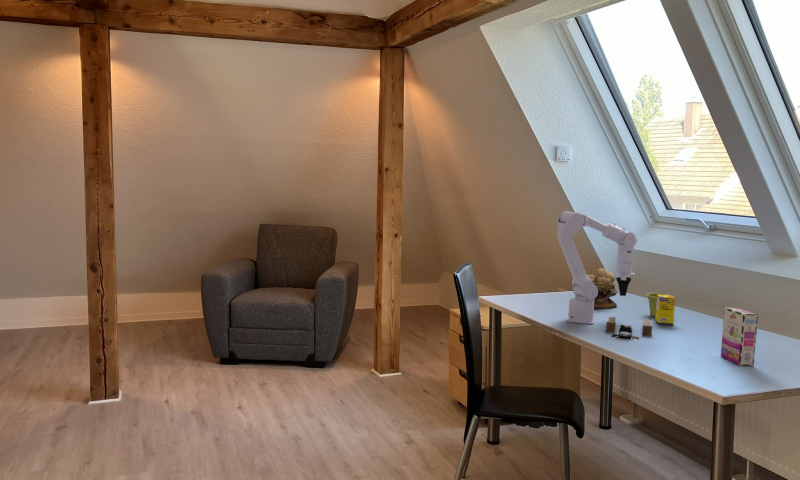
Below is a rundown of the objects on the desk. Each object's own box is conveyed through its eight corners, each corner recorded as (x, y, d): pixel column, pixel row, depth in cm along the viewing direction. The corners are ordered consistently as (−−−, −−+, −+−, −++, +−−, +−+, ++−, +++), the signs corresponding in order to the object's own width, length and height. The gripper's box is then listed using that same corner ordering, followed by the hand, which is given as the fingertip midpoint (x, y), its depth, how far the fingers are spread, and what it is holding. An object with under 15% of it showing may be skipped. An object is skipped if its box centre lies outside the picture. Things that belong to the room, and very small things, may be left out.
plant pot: (666, 319, 277) (667, 298, 276) (642, 316, 283) (643, 295, 282) (672, 315, 285) (674, 295, 284) (649, 312, 290) (651, 292, 289)
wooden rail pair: (606, 331, 254) (606, 322, 254) (607, 323, 267) (608, 314, 267) (651, 336, 249) (652, 326, 249) (650, 327, 262) (651, 318, 262)
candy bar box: (754, 366, 213) (759, 314, 211) (739, 366, 213) (743, 314, 211) (734, 356, 224) (738, 306, 222) (719, 356, 224) (723, 306, 222)
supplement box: (673, 325, 266) (675, 297, 265) (657, 324, 268) (659, 296, 266) (670, 322, 272) (672, 295, 271) (654, 321, 273) (656, 294, 272)
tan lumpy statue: (608, 303, 309) (611, 265, 307) (624, 308, 298) (627, 269, 296) (573, 304, 304) (575, 266, 302) (588, 310, 293) (590, 270, 291)
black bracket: (644, 338, 247) (645, 326, 247) (642, 343, 241) (643, 330, 240) (608, 334, 253) (609, 321, 252) (605, 338, 246) (606, 326, 245)
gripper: (635, 264, 263) (633, 299, 265) (635, 260, 277) (633, 293, 279) (616, 263, 266) (614, 298, 267) (617, 258, 279) (615, 291, 281)
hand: (622, 295), depth 273 cm, fingers closed
